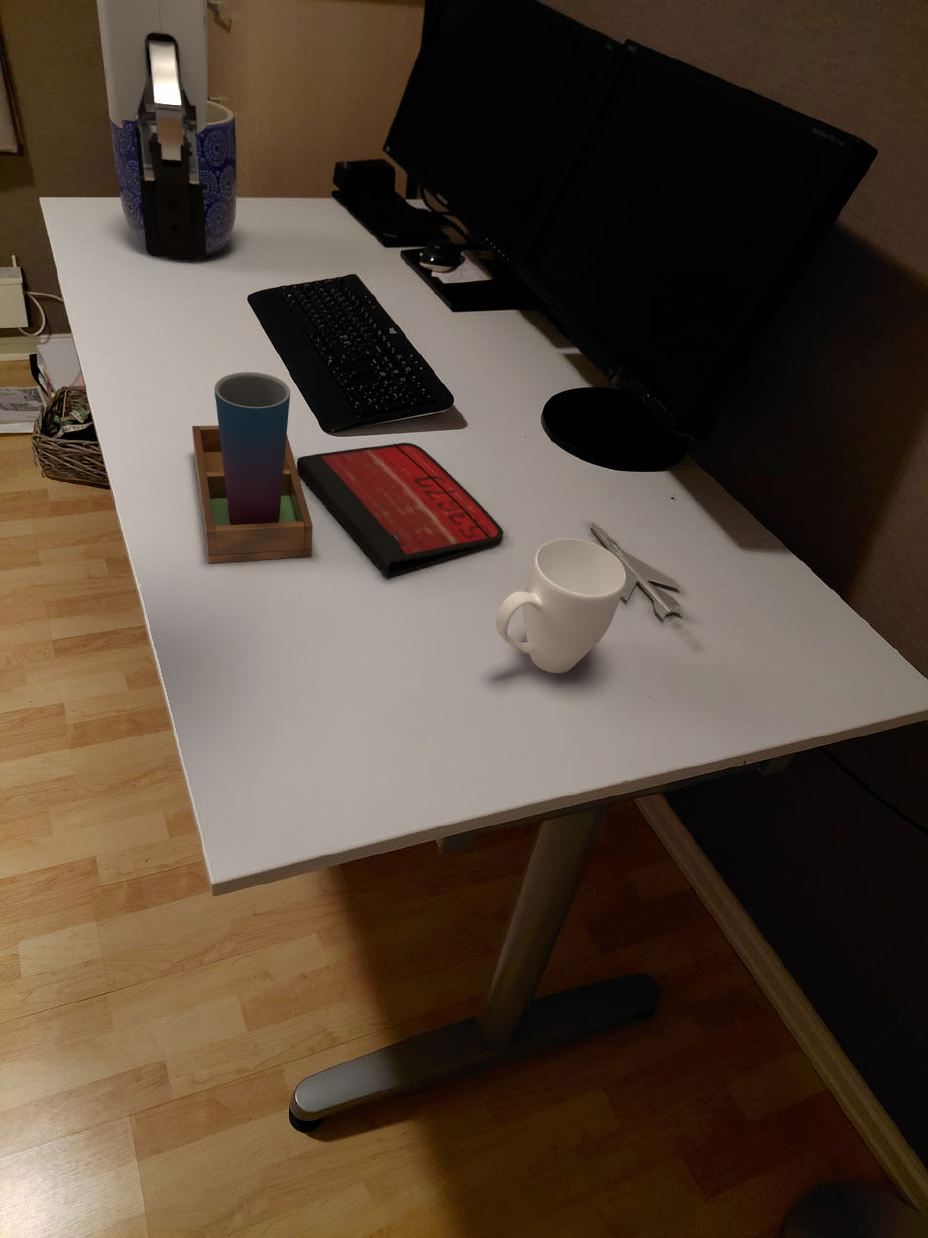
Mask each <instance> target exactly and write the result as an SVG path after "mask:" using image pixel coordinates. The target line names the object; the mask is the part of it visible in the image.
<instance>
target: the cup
mask: <svg viewBox="0 0 928 1238" xmlns="http://www.w3.org/2000/svg"><path fill="white" fill-rule="evenodd" d="M214 397H215V407H216V415H217V422H218V423H217V425H218V426H219V433H220V442H221V450H222V459H223V468H224V476H225V485H226V494H227V502H228V511H229V520H230V524H231V525H244V524H264V523H279V518H280V506H281V495H282V483H283V472H284V460H285V449H286V437H287V436H288V426H289V425H288V424H289V413H290V402H291V389H290V387H289V386H288V384H287V383H286V382H285V381H284V380H282V379H280V378H278V377H276V376H273V375H270V374H267V373H261V372H256V371H255V372H254V371H252V372H250V371H246V372H245V371H243V372H235V373H231V374H228V375H226V376H223V377H221V378H220V379H219V380H218V381H217V382H216V383H215V384H214Z"/></svg>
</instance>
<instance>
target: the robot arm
mask: <svg viewBox="0 0 928 1238" xmlns="http://www.w3.org/2000/svg"><path fill="white" fill-rule="evenodd" d="M96 9H97V18H98V26H99V36H100V43H101V44H100V45H101V53H102V61H103V71H104V79H105V88H106V96H107V105H108V116H109V120H110V119H111V120H112V121H113V123H115V124H116V125H117V126H118V127H122V128H123V120H129V121H135V119H136V116H137V112H138V125H135V133H136V144H137V154H138V165H139V175H140V176H139V179H140V189H141V200H142V210H143V221H144V231H145V242H146V246H145V250H146V253H147V254H148V255H149V256H151V257H156V258H176V257H177V258H178V259H203V258H205V257H206V256H205V255H206V234H205V213H204V193H203V181H202V180H199V170H198V158H197V147H196V136H195V133H196V134H198V133H200V132H201V131H202V130H203V129H204V128H205V127H206V126H207V100H208V92H209V91H208V87H209V86H208V85H209V84H208V83H209V81H208V80H209V40H208V39H209V37H208V36H209V35H208V31H209V30H208V28H209V27H208V25H209V24H208V0H96ZM204 256H205V257H204Z"/></svg>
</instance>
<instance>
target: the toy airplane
mask: <svg viewBox="0 0 928 1238" xmlns="http://www.w3.org/2000/svg"><path fill="white" fill-rule="evenodd" d="M590 527H591V529H592V530H593V533H594V534H595V535H596V537H597V538H598V539H599V540H600V542H601V543H602V545H604V547H606V550H608V551H609V552H611V553H612V554H613V555H614V556H616V557H617V559H618V560H619V561H620V562H621V564H622V565H623V567H624V570H625V573H626V582H625V586H624V590H623V593H622V595H621V598H623V599H624V600H625V601H626V602H628V600H629V598H630V596H631V594H632V592H633V591H634V589H635V586H636V584H638V586H640V588H641V589H642V590H643V591H644V593H645V594H647V596H648V597H649V598H650V599H651V600H652V601H653V606H654V611H655V612H656V614H657V615H658V616H659V617H660V618H661V619H662V620H663V621H664V620H665V617H666V615H672V613H676V614H680V615H683V616H685V613H684V612H683V611H682V610H681V609H680V608H682V605H681V604H680V602H678V601H677V599H675V597H674V596H672V595H671V594H669V593H667V592H666V591H664V590H662V589H661V588H659V587H657V586H656V585H654V584H652V583H651V582H653V583H657V584H660V585H664V586H667V587H671V588H674V589H678V590H682V589H681V587H680V586H679V584H678V583H677V581H676V580H674V579H673V578H671V577H669V576H668V575H667V574H664V573H663V572H661V571H659V570H657V569H656V568H654V567H652V566H651V565H648V564H647V563H645V562H644V561H642V560H640V559H638V558H636V557H635V556H633V555H631V554H630V553H628V552H627V551H624V550H623V549H621V546H620V545H619V544H618V543H617V542H616V541H615V540H614V539H612V538H611V537H610V536H609V535H608V534H607V532H605V531H604V530H603V529H602V528H601V527H600V526H598V525H597V524H596V523H594V522H591V524H590ZM679 623H681V621H680V620H678V621H677V623H676V624H677V625H679ZM688 631H689V630H686V631H684V633H685V634H686V633H688ZM692 640H695V638H693V639H692ZM698 645H699V644H697V646H698Z"/></svg>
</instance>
